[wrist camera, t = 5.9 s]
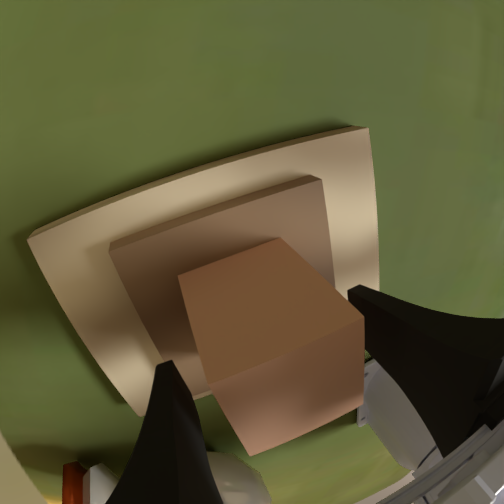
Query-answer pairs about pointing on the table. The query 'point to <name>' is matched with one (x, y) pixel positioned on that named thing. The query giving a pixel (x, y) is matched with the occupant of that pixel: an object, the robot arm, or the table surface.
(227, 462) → the potion bottle
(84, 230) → the base board
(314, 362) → the block
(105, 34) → the table surface
